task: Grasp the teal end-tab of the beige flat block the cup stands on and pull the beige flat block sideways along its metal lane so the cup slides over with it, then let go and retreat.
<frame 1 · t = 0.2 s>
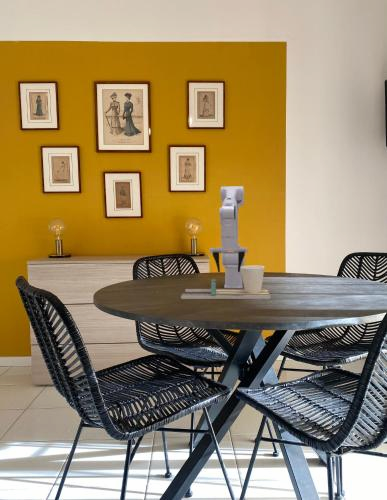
hand: (228, 271, 194), 10 cm above the table, fingers open, 7 cm apart
cup: (253, 294, 201), resting on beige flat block
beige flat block: (239, 287, 201), point 3 cm above the table, slide at 0.2 cm, touching cup
lane rails: (233, 294, 202), on the table
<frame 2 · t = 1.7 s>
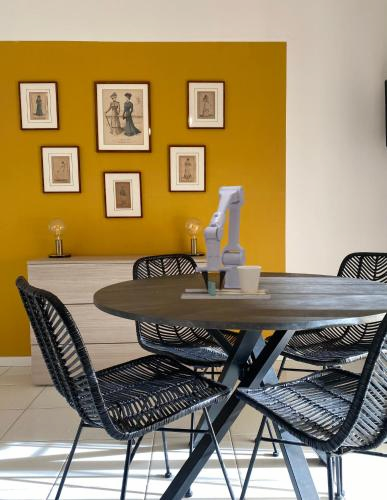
hand: (214, 289, 202), 2 cm above the table, fingers open, 4 cm apart
cup: (249, 294, 201), resting on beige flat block
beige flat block: (236, 287, 201), point 3 cm above the table, slide at 1.5 cm, touching cup, gripper
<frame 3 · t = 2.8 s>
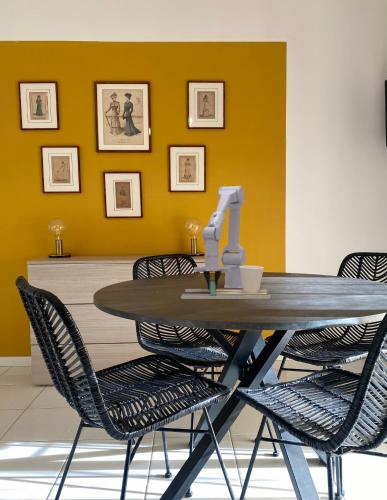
hand: (212, 289, 202), 2 cm above the table, fingers closed
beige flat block: (238, 287, 201), point 3 cm above the table, slide at 0.7 cm, touching cup, gripper
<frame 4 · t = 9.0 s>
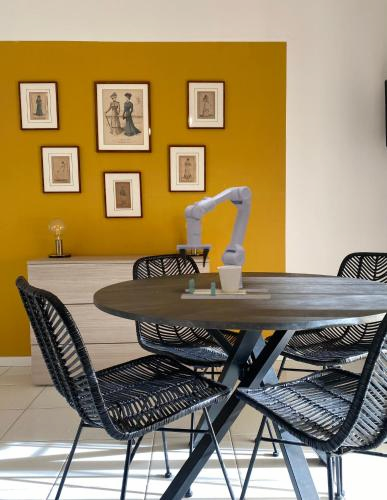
hand: (194, 267, 208), 10 cm above the table, fingers open, 7 cm apart
cup: (230, 294, 203), resting on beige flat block
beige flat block: (217, 287, 202), point 3 cm above the table, slide at 9.0 cm, touching cup
at the end: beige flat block slide at 11.4 cm; cup moved 11.7 cm from its start; cup tilted 1° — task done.
